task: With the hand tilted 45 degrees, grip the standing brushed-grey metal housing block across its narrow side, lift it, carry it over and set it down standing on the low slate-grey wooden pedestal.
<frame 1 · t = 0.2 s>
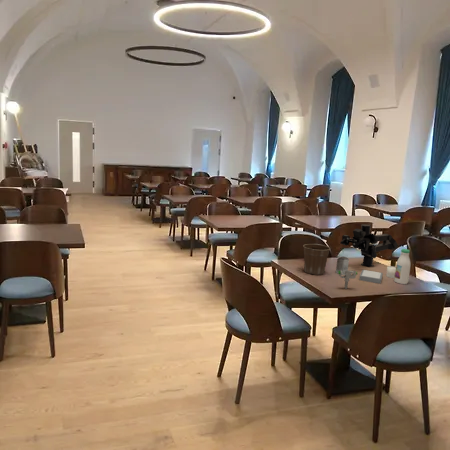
hand: (346, 244, 276), 17 cm above the table, tool horizontal, fingers open, 9 cm apart
mechanical component: (345, 288, 241), on the table
milk bottle: (400, 282, 261), on the table
housing: (341, 273, 271), on the table
stand: (370, 278, 264), on the table
plant pot: (313, 272, 269), on the table
white short cylinder: (390, 276, 271), on the table
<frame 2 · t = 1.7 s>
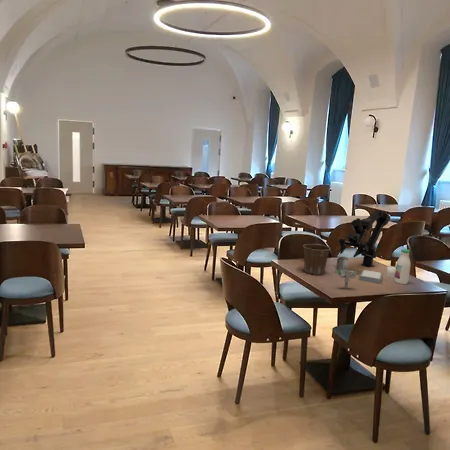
hand: (346, 255, 272), 11 cm above the table, tool tilted 45°, fingers open, 9 cm apart
nothing on the table moved.
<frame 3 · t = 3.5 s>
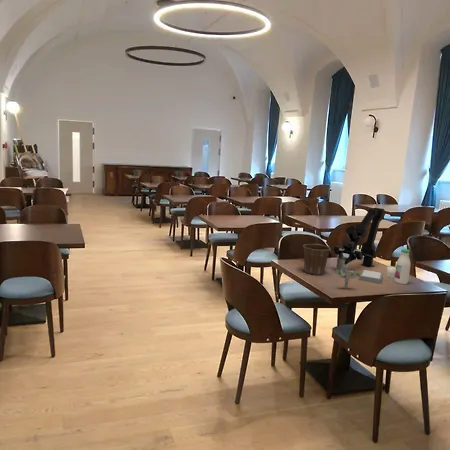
hand: (341, 263, 269), 7 cm above the table, tool tilted 45°, fingers closed on housing, 4 cm apart
housing: (341, 273, 271), on the table, touching gripper
everything else where it was.
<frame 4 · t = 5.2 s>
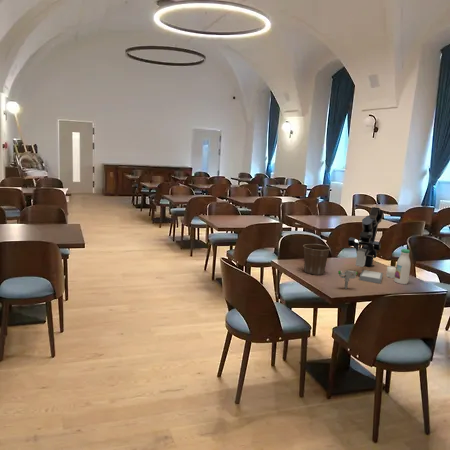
hand: (361, 255, 264), 13 cm above the table, tool tilted 45°, fingers closed on housing, 4 cm apart
housing: (360, 265, 267), point 7 cm above the table, touching gripper
everything else where it was.
when the fingers open (10 cm above the table, at t = 6.9 s): housing stays where it is, resting on stand.
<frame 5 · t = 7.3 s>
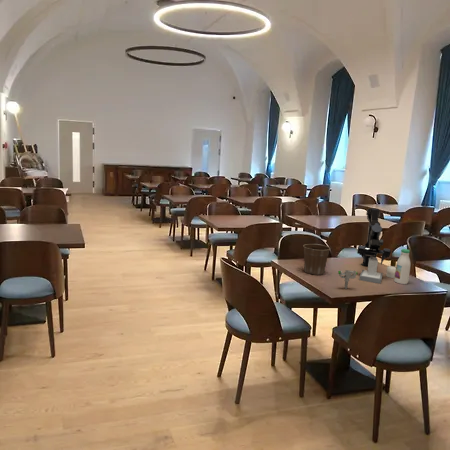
hand: (373, 263, 261), 10 cm above the table, tool tilted 45°, fingers open, 9 cm apart
housing: (371, 274, 264), point 3 cm above the table, touching stand
everything else where it was.
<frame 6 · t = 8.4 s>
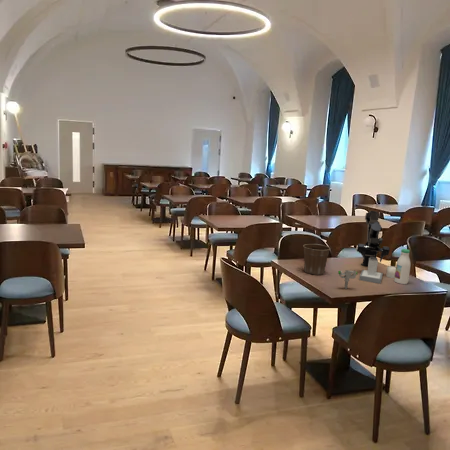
hand: (372, 261, 267), 10 cm above the table, tool tilted 45°, fingers open, 9 cm apart
nothing on the table moved.
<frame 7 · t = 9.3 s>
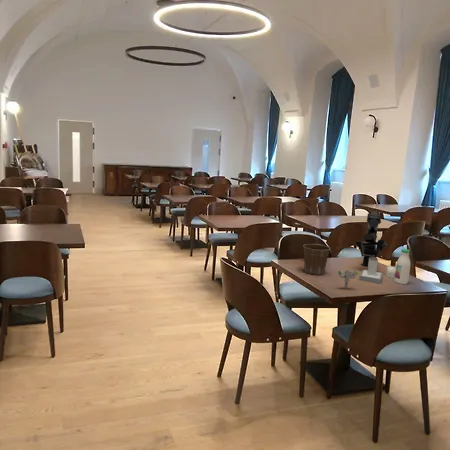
hand: (369, 256, 272), 11 cm above the table, tool tilted 30°, fingers open, 9 cm apart
nothing on the table moved.
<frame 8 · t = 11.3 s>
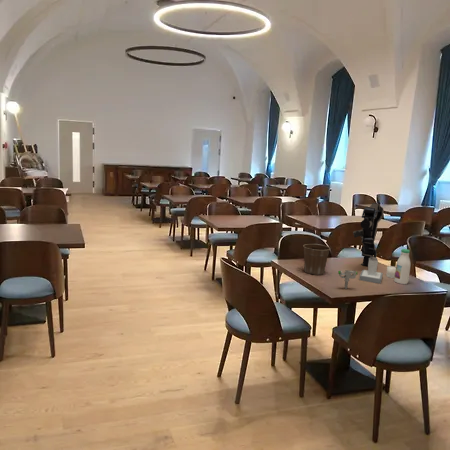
hand: (364, 251, 277), 13 cm above the table, tool pointing down, fingers open, 9 cm apart
nothing on the table moved.
at the end: housing inside the target area on the stand (0.0 cm from its centre), point 2.7 cm above the stand's base; housing tilted 0°; the gripper is holding nothing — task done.
